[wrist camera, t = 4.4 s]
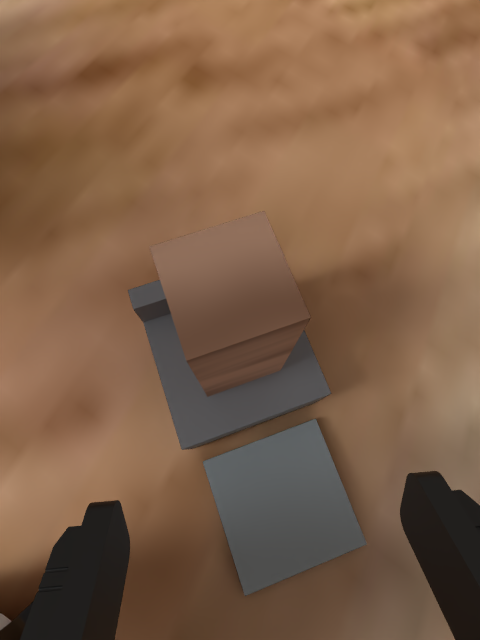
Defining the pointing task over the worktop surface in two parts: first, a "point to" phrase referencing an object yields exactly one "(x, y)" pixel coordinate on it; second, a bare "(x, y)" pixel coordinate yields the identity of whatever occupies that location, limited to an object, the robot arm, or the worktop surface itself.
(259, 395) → the charcoal shelf
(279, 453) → the slate-grey mat
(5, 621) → the coffee press
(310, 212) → the worktop surface
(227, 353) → the wooden blank
